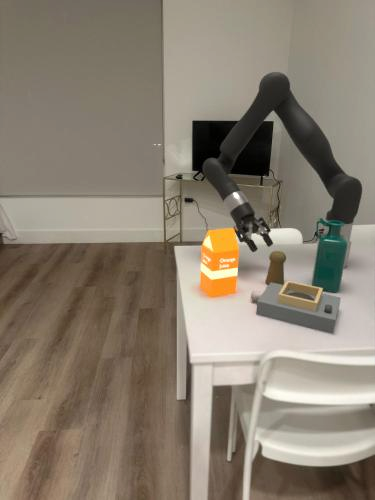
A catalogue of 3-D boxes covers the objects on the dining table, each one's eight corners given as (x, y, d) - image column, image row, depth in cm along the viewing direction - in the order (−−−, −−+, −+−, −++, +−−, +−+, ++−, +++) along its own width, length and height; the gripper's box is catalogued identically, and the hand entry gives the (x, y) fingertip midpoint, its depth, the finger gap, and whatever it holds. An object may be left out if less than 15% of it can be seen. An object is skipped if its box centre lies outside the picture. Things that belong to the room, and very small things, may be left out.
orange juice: (199, 287, 115) (202, 227, 108) (224, 283, 118) (227, 224, 111) (210, 298, 108) (214, 234, 101) (236, 293, 111) (241, 231, 104)
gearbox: (338, 309, 103) (342, 289, 101) (332, 333, 91) (336, 311, 89) (258, 291, 113) (260, 272, 111) (243, 310, 101) (245, 290, 99)
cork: (284, 288, 115) (288, 256, 112) (265, 286, 116) (268, 254, 113) (283, 280, 121) (287, 250, 117) (265, 278, 122) (268, 248, 118)
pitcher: (338, 283, 120) (350, 219, 113) (339, 293, 113) (352, 226, 105) (307, 278, 123) (317, 216, 116) (306, 288, 115) (316, 222, 108)
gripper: (231, 204, 116) (257, 247, 112) (258, 198, 125) (283, 238, 121) (218, 216, 121) (242, 258, 117) (245, 210, 130) (268, 249, 126)
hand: (263, 248), depth 119 cm, fingers open, 8 cm apart
